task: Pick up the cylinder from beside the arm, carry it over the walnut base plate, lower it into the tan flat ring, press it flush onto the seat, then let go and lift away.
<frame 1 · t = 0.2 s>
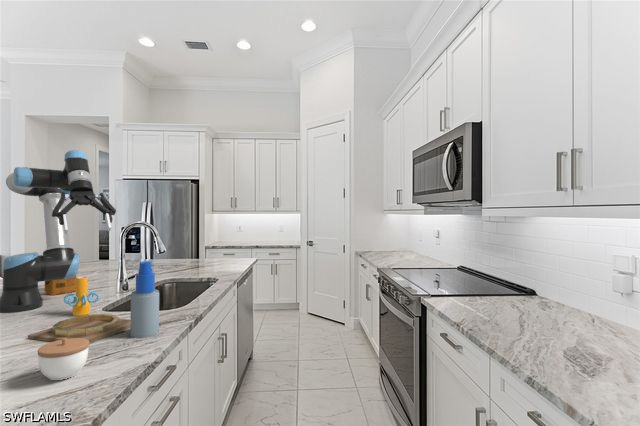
hand: (88, 230, 130), 35 cm above the worktop, tool tilted 35°, fingers open, 13 cm apart
coffee package: (60, 293, 180), on the worktop
cylinder: (81, 314, 143), on the worktop
lidded jar: (63, 376, 90), on the worktop
tan flat ring: (87, 324, 124), on the seat plate, point 2 cm above the worktop
seat plate: (87, 330, 124), on the worktop
spray bottle: (144, 333, 122), on the worktop
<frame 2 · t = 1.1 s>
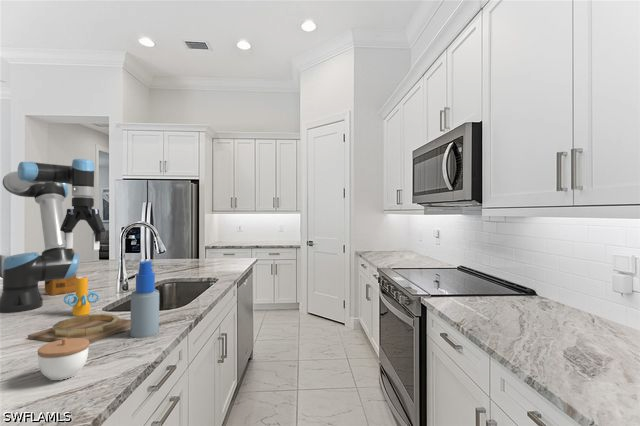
hand: (82, 249, 143), 27 cm above the worktop, tool pointing down, fingers open, 13 cm apart
nothing on the worktop moved.
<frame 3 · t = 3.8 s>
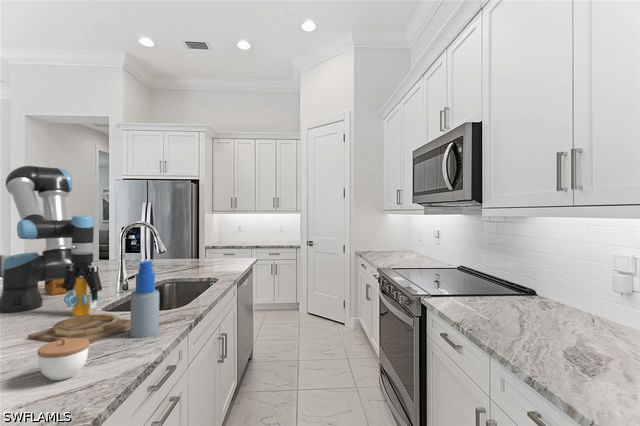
hand: (81, 307, 143), 3 cm above the worktop, tool pointing down, fingers closed on cylinder, 10 cm apart
cylinder: (81, 314, 143), on the worktop, touching gripper
everything else where it was.
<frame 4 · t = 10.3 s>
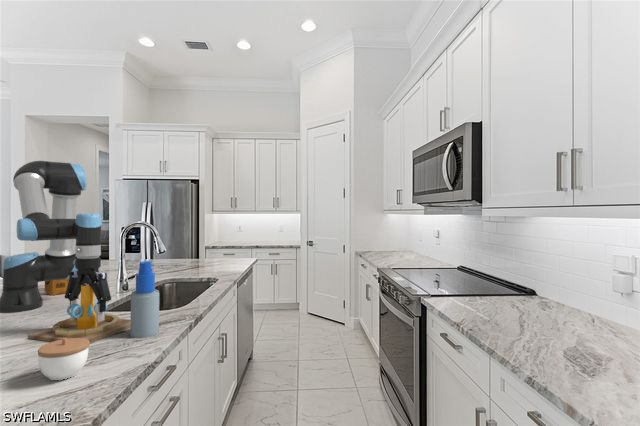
hand: (87, 319, 124), 4 cm above the worktop, tool pointing down, fingers closed on cylinder, 10 cm apart
cylinder: (87, 328, 124), point 1 cm above the worktop, touching gripper, seat plate
everything else where it was.
when the fingers open (4 cm above the worktop, at t = 11.7 s): cylinder stays where it is, resting on seat plate.
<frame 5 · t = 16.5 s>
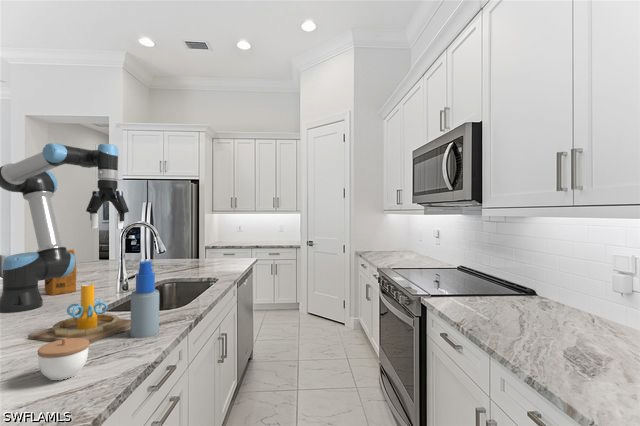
hand: (107, 228, 153), 35 cm above the worktop, tool pointing down, fingers open, 13 cm apart
cylinder: (87, 328, 124), point 1 cm above the worktop, touching seat plate
everything else where it was.
at the end: cylinder 0.0 cm off-centre on the seat plate, point 1.0 cm above the seat plate's base; cylinder tilted 0°; the gripper is holding nothing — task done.
